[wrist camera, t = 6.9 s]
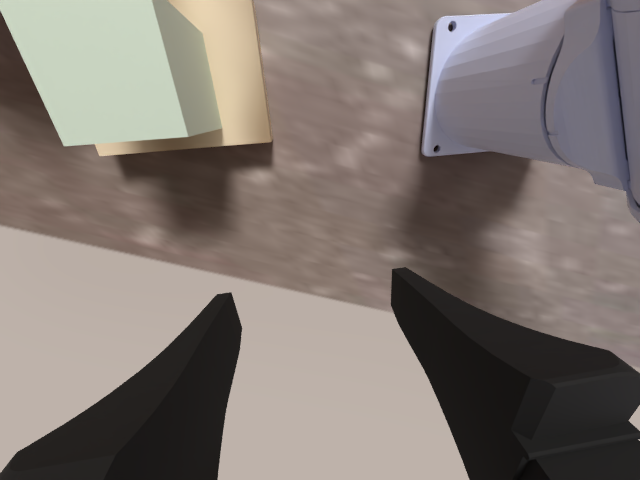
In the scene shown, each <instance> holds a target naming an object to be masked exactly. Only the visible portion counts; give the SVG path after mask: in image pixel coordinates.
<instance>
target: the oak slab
mask: <svg viewBox="0 0 640 480" xmlns="http://www.w3.org/2000/svg"><path fill="white" fill-rule="evenodd" d="M167 1H168V2H169V3H170V4H172V5H173V6H174V7H175V8H176V9H177V10H178V11H179V12H180V13H181V14H182V15H183V16H184V17H186V18H187V19H188V20H189V21H190V22H191V23H192V24H193V25H194V26H195V27H196V28H197V29H198V30H200V31H201V32H202V34H203V38H204V43H205V48H206V53H207V57H208V62H209V67H210V72H211V76H212V81H213V86H214V91H215V95H216V100H217V105H218V110H219V114H220V119H221V124H222V128H221V129H217V130H213V131H209V132H205V133H201V134H198V135H194V136H190V137H180V138H167V139H153V140H140V141H127V142H114V143H101V144H95V146H96V148H97V151H98V153H99V156H108V155H120V154H133V153H145V152H157V151H169V150H181V149H193V148H205V147H217V146H230V145H242V144H254V143H266V142H272V140H273V135H272V128H271V121H270V113H269V106H268V99H267V91H266V84H265V77H264V69H263V62H262V55H261V47H260V40H259V33H258V26H257V18H256V11H255V5H254V2H253V0H167Z"/></svg>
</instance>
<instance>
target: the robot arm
mask: <svg viewBox="0 0 640 480" xmlns="http://www.w3.org/2000/svg"><path fill="white" fill-rule="evenodd" d="M449 23H451V24H452V25H453V29H452V31H451V32H450V31H449V30H448V25H449ZM436 145H437V146H438V149H437V151H435V152H434V147H435V146H436ZM421 151H422V154H423V155H424V156H428V157H431V156H442V155H453V154H464V153H475V152H486V151H492V152H497V153H503V154H508V155H513V156H518V157H523V158H529V159H534V160H539V161H544V162H549V163H554V164H560V165H565V166H570V167H575V168H581V169H583V170H586V171H587V172H589V173H590V174H591V176H592V177H593V180H594V183H595V184H598V185H602V186H606V187H611V188H615V189H619V190H623V191H626V196H627V205H628V208H629V210H630V212H631V214H632V215H633V216H634V218H635V219H636V220H637V221H638V222H639V223H640V0H542V1H539V2H537V3H535V4H532V5H530V6H528V7H526V8H523V9H521V10H519V11H516V12H514V13H501V14H482V15H462V16H445V17H442V18H440V19H439V20H437V21H436V23H435V25H434V28H433V37H432V47H431V58H430V68H429V78H428V88H427V98H426V108H425V118H424V128H423V138H422V149H421ZM391 306H392V309H393V311H394V314H395V317H396V319H397V321H398V324H399V326H400V327H401V329H402V331H403V333H404V335H405V337H406V338H407V340H408V342H409V344H410V346H411V347H412V349H413V351H414V353H415V354H416V356H417V358H418V360H419V362H420V363H421V365H422V367H423V369H424V370H425V373H426V375H427V377H428V379H429V381H430V383H431V385H432V388H433V390H434V392H435V394H436V397H437V399H438V401H439V403H440V406H441V408H442V410H443V413H444V415H445V418H446V420H447V423H448V425H449V427H450V430H451V432H452V435H453V437H454V440H455V442H456V445H457V447H458V450H459V453H460V455H461V458H462V460H463V463H464V466H465V469H466V471H467V474H468V477H469V479H470V480H640V441H639V440H638V439H640V431H639V430H638V429H637V428H635V427H634V426H633V425H632V424H631V423H630V422H629V421H628V420H629V419H630V417H631V416H632V415H633V413H634V412H635V411H636V409H637V408H638V406H639V405H640V373H639V372H637V371H636V370H635V369H633V368H632V367H631V366H629V365H628V364H627V363H625V362H624V361H623V360H621V359H620V358H619V357H617V356H616V355H615V354H613V353H612V352H610V351H608V350H604V349H600V348H596V347H592V346H588V345H584V344H580V343H576V342H572V341H568V340H565V339H561V338H558V337H554V336H551V335H548V334H544V333H541V332H538V331H535V330H532V329H529V328H526V327H523V326H520V325H518V324H515V323H512V322H509V321H507V320H504V319H502V318H499V317H497V316H494V315H492V314H490V313H487V312H485V311H483V310H481V309H478V308H476V307H474V306H472V305H470V304H468V303H466V302H464V301H462V300H460V299H458V298H456V297H454V296H453V295H451V294H449V293H447V292H445V291H444V290H442V289H440V288H439V287H437V286H435V285H434V284H432V283H430V282H429V281H427V280H425V279H424V278H422V277H421V276H419V275H417V274H416V273H414V272H412V271H411V270H409V269H407V268H406V267H404V268H397V269H392V289H391ZM241 332H242V326H241V323H240V320H239V316H238V313H237V310H236V306H235V303H234V300H233V297H232V294H231V293H224V294H217V295H216V296H215V297H214V298H213V299H212V300H211V302H210V303H209V304H208V305H207V306H206V307H205V308H204V309H203V310H202V311H201V313H200V314H199V315H198V316H197V317H196V318H195V319H194V320H193V321H192V322H191V323H190V325H189V326H188V327H187V328H186V329H185V330H184V331H183V332H182V333H181V334H180V335H179V336H178V337H177V338H176V339H175V340H174V341H173V342H172V343H171V344H170V345H169V346H168V347H167V348H165V350H164V351H162V352H161V353H160V354H159V355H158V356H157V357H156V358H154V359H153V360H152V361H151V362H150V363H149V364H147V365H146V366H145V367H144V368H143V369H141V370H140V371H139V372H138V373H136V374H135V375H134V376H132V377H131V378H130V379H128V380H127V381H126V382H124V383H123V384H122V385H120V386H119V387H118V388H117V389H115V390H114V391H113V392H111V393H110V394H108V395H107V396H106V397H104V398H103V399H101V400H100V401H99V402H97V403H96V404H94V405H93V406H91V407H90V408H88V409H87V410H85V411H84V412H82V413H81V414H79V415H78V416H76V417H75V418H73V419H71V420H70V421H69V422H67V423H65V424H64V425H62V426H60V427H59V428H57V429H55V430H54V431H52V432H50V433H49V434H47V435H45V436H44V437H42V438H41V439H39V440H37V441H35V442H34V443H32V444H30V445H29V446H27V447H25V448H24V449H22V450H20V451H18V452H17V453H16V454H15V456H14V457H13V458H12V459H11V460H10V462H9V463H8V464H7V466H6V467H5V468H4V469H3V471H2V472H1V473H0V480H217V478H218V468H219V459H220V451H221V443H222V435H223V427H224V420H225V413H226V408H227V402H228V398H229V394H230V389H231V385H232V380H233V376H234V373H235V368H236V364H237V360H238V355H239V350H240V342H241Z"/></svg>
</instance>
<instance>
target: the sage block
mask: <svg viewBox="0 0 640 480" xmlns="http://www.w3.org/2000/svg"><path fill="white" fill-rule="evenodd" d="M0 11H1V13H2V15H3V17H4V19H5V21H6V24H7V26H8V28H9V30H10V32H11V34H12V36H13V39H14V41H15V43H16V45H17V47H18V49H19V51H20V53H21V56H22V58H23V60H24V62H25V64H26V66H27V68H28V70H29V73H30V75H31V77H32V79H33V81H34V83H35V85H36V88H37V90H38V92H39V94H40V96H41V98H42V100H43V102H44V105H45V107H46V109H47V111H48V113H49V115H50V117H51V120H52V122H53V124H54V126H55V128H56V130H57V132H58V134H59V137H60V139H61V141H62V143H63V145H64V146H75V145H88V144H101V143H114V142H127V141H140V140H153V139H167V138H180V137H190V136H194V135H198V134H201V133H205V132H209V131H213V130H217V129H221V128H222V124H221V119H220V114H219V110H218V105H217V100H216V95H215V91H214V86H213V81H212V76H211V72H210V67H209V62H208V57H207V53H206V48H205V43H204V38H203V34H202V32H201V31H200V30H198V29H197V28H196V27H195V26H194V25H193V24H192V23H191V22H190V21H189V20H188V19H187V18H186V17H184V16H183V15H182V14H181V13H180V12H179V11H178V10H177V9H176V8H175V7H174V6H173V5H172V4H170V3H169V2H168V1H167V0H0Z"/></svg>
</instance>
